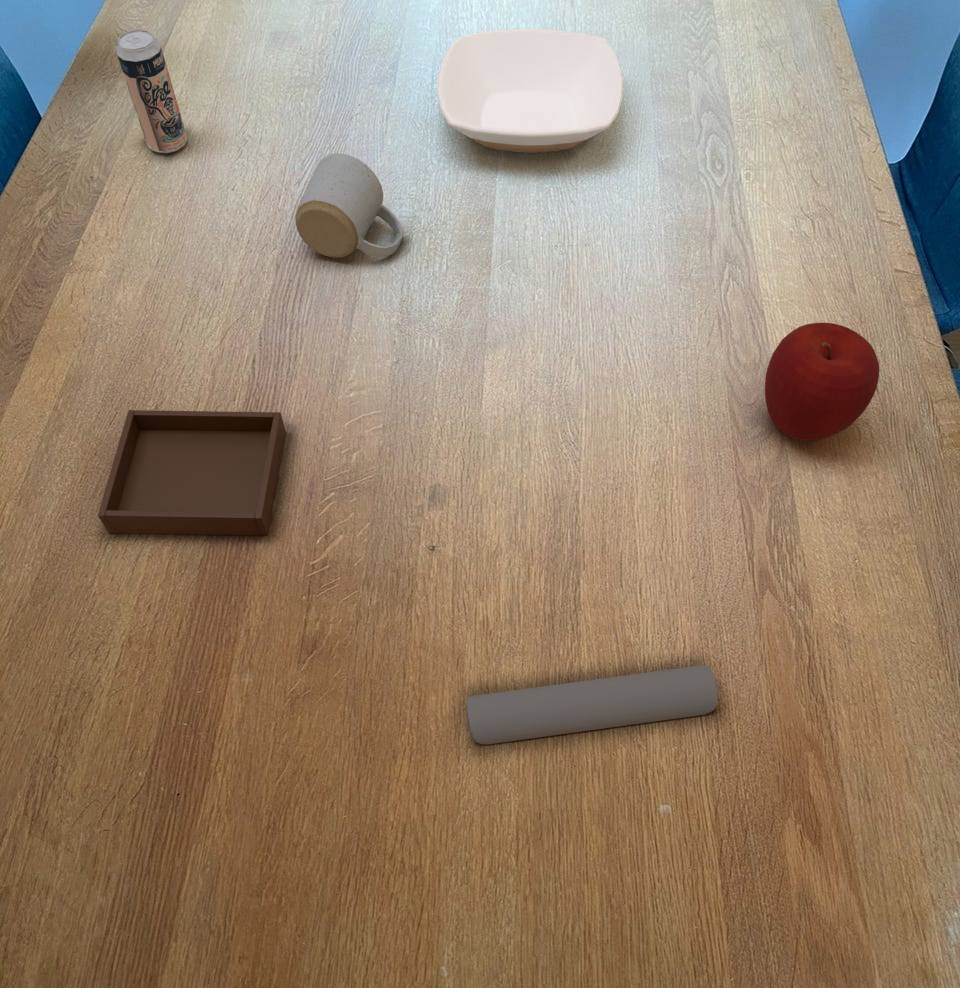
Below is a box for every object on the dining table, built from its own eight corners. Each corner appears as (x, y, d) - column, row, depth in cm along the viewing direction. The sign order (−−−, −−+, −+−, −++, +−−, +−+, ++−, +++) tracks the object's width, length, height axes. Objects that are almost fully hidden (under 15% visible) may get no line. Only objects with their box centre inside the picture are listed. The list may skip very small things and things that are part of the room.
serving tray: (108, 533, 83) (97, 515, 81) (137, 429, 89) (128, 409, 87) (267, 536, 83) (261, 518, 81) (285, 431, 89) (280, 412, 87)
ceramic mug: (296, 257, 102) (284, 193, 95) (322, 210, 106) (312, 145, 99) (390, 274, 100) (384, 210, 94) (412, 226, 104) (408, 161, 98)
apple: (823, 377, 92) (857, 294, 83) (873, 448, 87) (915, 368, 79) (735, 399, 91) (760, 317, 82) (780, 473, 86) (813, 394, 77)
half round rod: (718, 713, 74) (722, 703, 72) (471, 747, 72) (471, 738, 71) (703, 666, 76) (708, 655, 74) (464, 698, 75) (463, 688, 73)
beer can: (170, 161, 111) (137, 56, 100) (139, 148, 112) (103, 43, 102) (196, 140, 113) (167, 35, 102) (166, 128, 114) (134, 23, 104)
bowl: (444, 70, 120) (442, 27, 115) (615, 72, 119) (620, 29, 114) (433, 176, 109) (431, 132, 104) (621, 179, 108) (627, 135, 103)
